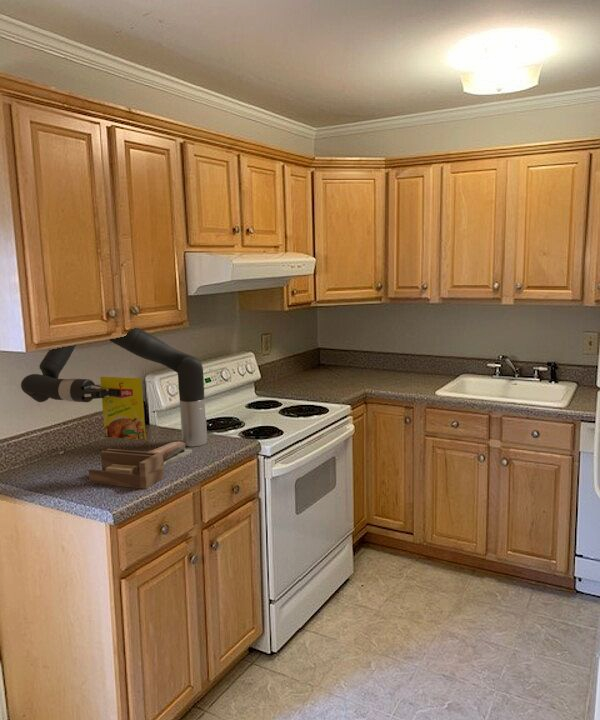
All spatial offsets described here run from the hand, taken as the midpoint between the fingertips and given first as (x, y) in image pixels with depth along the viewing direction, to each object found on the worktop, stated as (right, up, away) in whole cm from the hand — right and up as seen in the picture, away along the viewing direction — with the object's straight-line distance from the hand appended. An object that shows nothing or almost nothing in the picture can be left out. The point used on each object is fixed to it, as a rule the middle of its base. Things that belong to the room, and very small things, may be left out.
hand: (121, 392), depth 187 cm
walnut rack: (+2, -28, +1) cm, 28 cm away
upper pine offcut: (0, -26, 0) cm, 26 cm away
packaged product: (+9, -25, +21) cm, 34 cm away
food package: (0, -15, +2) cm, 15 cm away
